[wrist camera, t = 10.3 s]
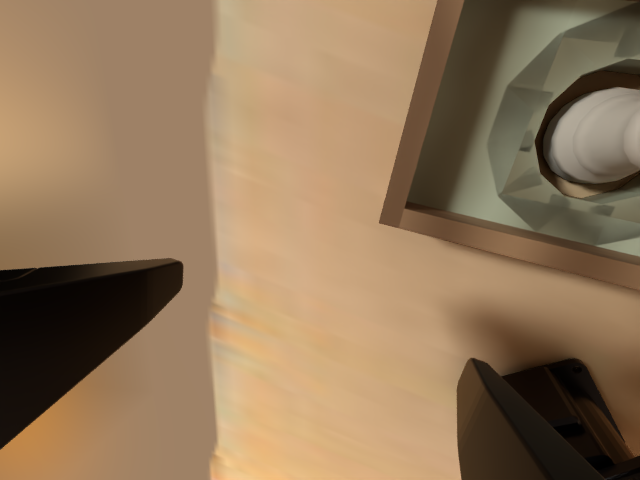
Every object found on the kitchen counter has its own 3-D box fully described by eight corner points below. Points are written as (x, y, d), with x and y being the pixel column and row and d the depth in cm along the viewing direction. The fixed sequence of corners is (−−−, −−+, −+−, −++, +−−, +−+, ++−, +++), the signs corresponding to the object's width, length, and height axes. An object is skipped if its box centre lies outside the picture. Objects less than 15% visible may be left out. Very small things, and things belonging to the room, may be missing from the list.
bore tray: (929, 21, 12) (1208, -50, 8) (733, 292, 16) (847, 343, 12) (447, -20, 16) (459, -81, 11) (386, 207, 20) (378, 223, 15)
